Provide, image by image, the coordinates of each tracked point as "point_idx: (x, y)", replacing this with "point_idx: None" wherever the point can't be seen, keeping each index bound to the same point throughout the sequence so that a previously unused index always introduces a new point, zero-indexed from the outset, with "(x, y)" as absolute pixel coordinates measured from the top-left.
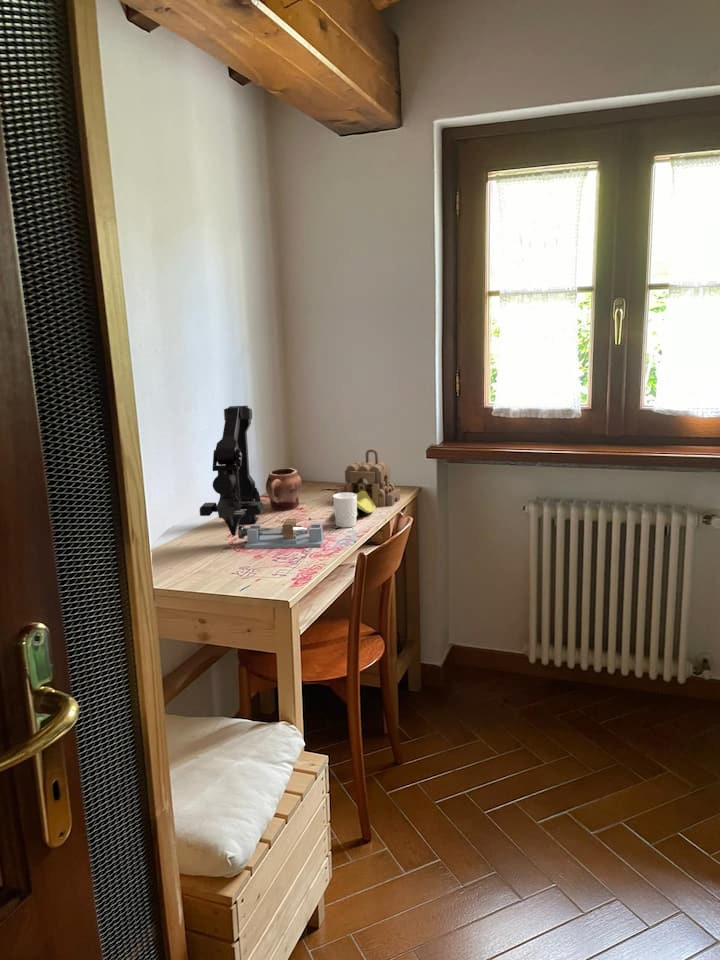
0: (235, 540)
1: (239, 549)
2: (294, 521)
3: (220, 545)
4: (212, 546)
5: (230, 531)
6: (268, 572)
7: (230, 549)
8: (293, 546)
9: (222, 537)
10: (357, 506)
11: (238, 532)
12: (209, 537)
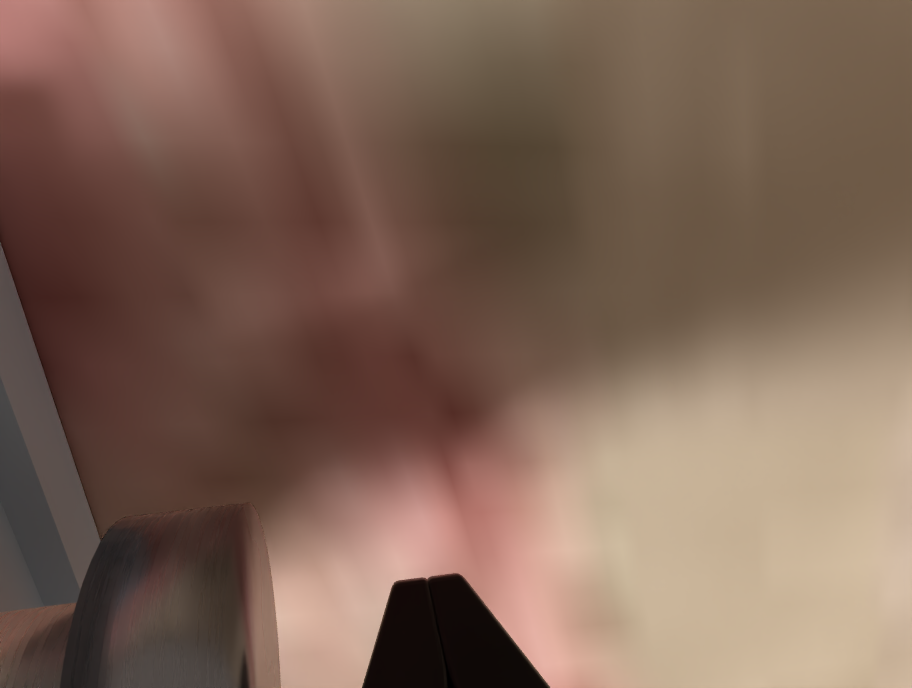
0: None
1: (104, 37)
2: None
3: (675, 344)
4: (832, 282)
5: (527, 662)
6: None
7: (380, 50)
8: None
9: (676, 680)
10: None
11: (208, 621)
12: (859, 658)
